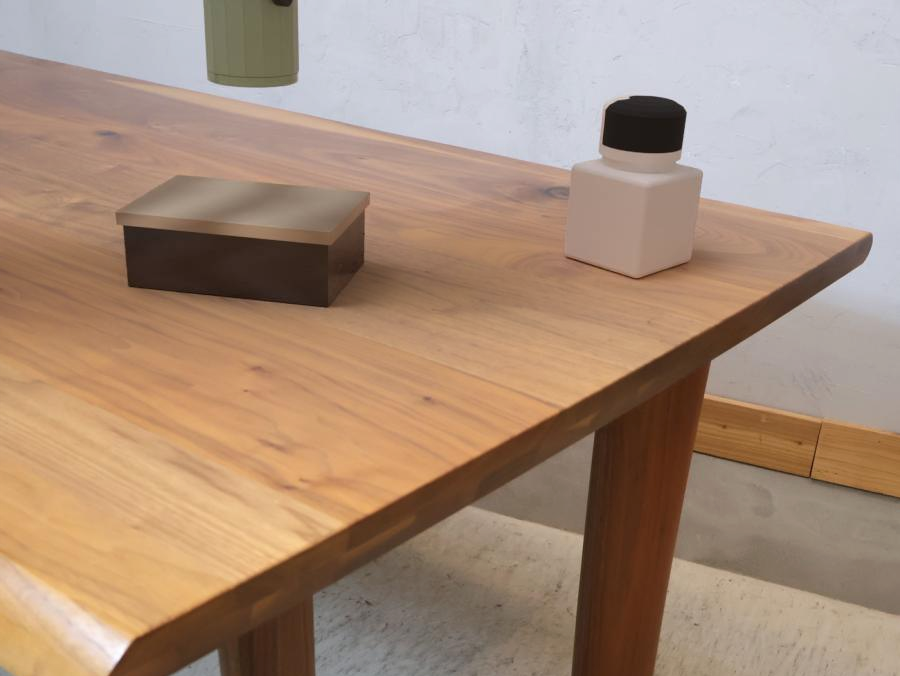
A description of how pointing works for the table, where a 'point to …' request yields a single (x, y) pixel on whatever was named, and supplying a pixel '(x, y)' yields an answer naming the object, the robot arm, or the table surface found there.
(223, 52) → the cup
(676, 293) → the table surface
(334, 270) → the shoebox
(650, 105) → the medicine bottle
